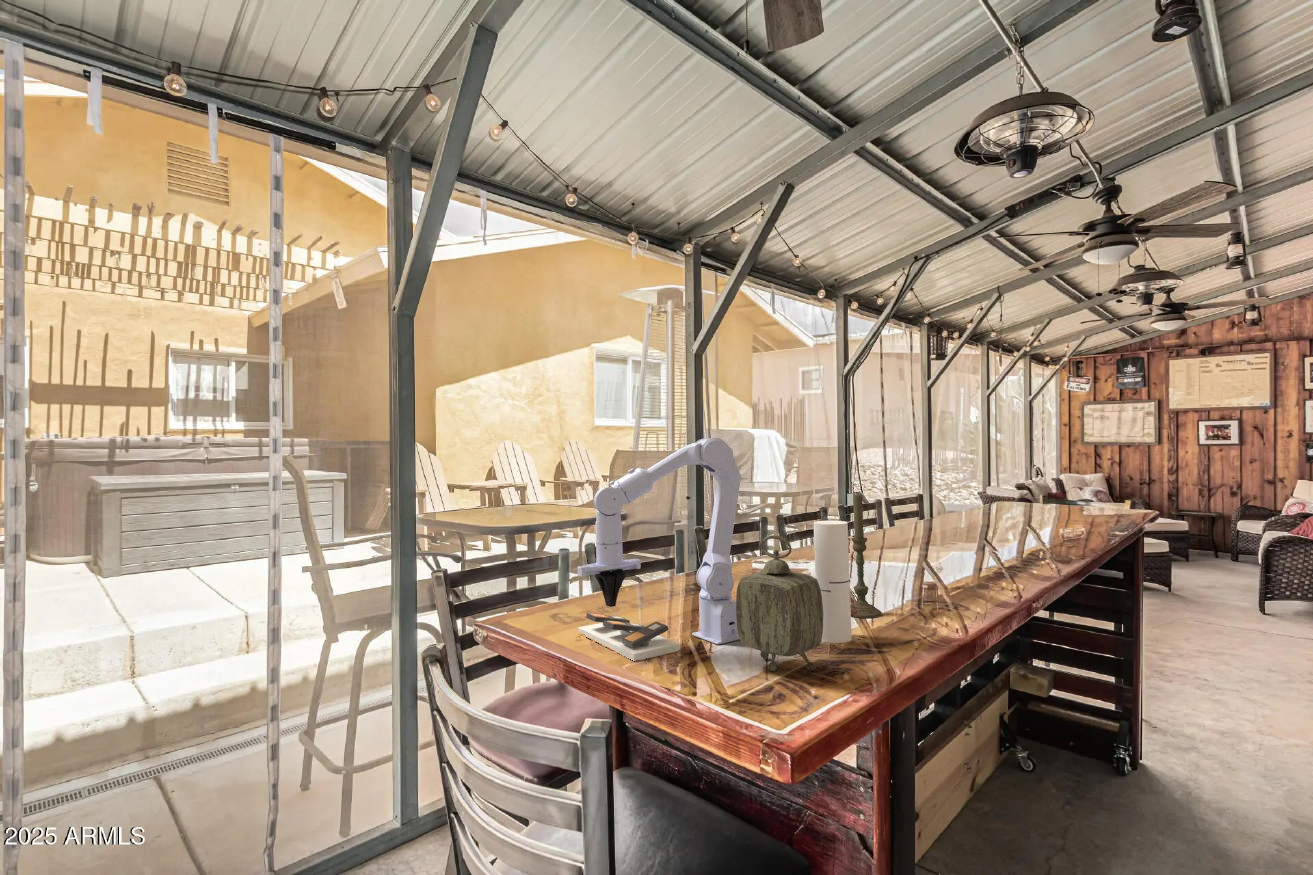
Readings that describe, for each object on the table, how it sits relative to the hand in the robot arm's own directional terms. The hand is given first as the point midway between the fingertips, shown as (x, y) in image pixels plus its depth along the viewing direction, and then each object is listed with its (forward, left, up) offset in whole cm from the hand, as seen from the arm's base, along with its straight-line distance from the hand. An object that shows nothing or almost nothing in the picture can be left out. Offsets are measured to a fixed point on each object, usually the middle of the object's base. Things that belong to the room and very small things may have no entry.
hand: (610, 605), depth 142 cm
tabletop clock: (-33, -18, -9) cm, 38 cm away
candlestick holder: (-16, -62, -9) cm, 64 cm away
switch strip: (0, -4, -8) cm, 9 cm away
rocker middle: (0, -4, -5) cm, 6 cm away
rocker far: (+8, -4, -5) cm, 10 cm away
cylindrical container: (-26, -41, -9) cm, 49 cm away
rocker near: (-8, -4, -5) cm, 10 cm away
